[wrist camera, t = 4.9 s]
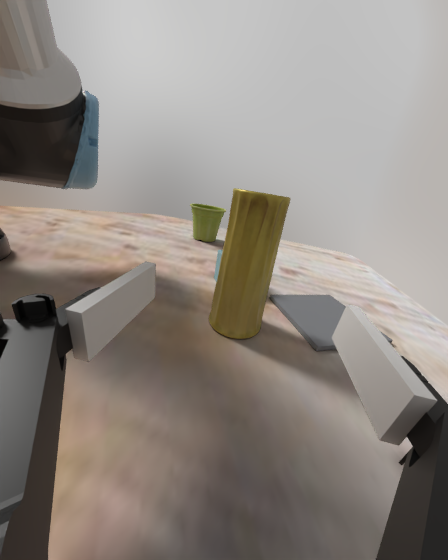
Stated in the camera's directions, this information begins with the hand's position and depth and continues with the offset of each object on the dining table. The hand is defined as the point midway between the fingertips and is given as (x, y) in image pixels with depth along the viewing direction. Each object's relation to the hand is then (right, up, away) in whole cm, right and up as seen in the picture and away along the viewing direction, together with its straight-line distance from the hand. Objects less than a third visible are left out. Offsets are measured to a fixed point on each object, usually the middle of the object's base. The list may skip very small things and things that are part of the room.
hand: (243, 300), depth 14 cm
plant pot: (-7, +13, +44) cm, 46 cm away
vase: (0, -4, +10) cm, 11 cm away
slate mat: (+12, -4, +14) cm, 19 cm away
